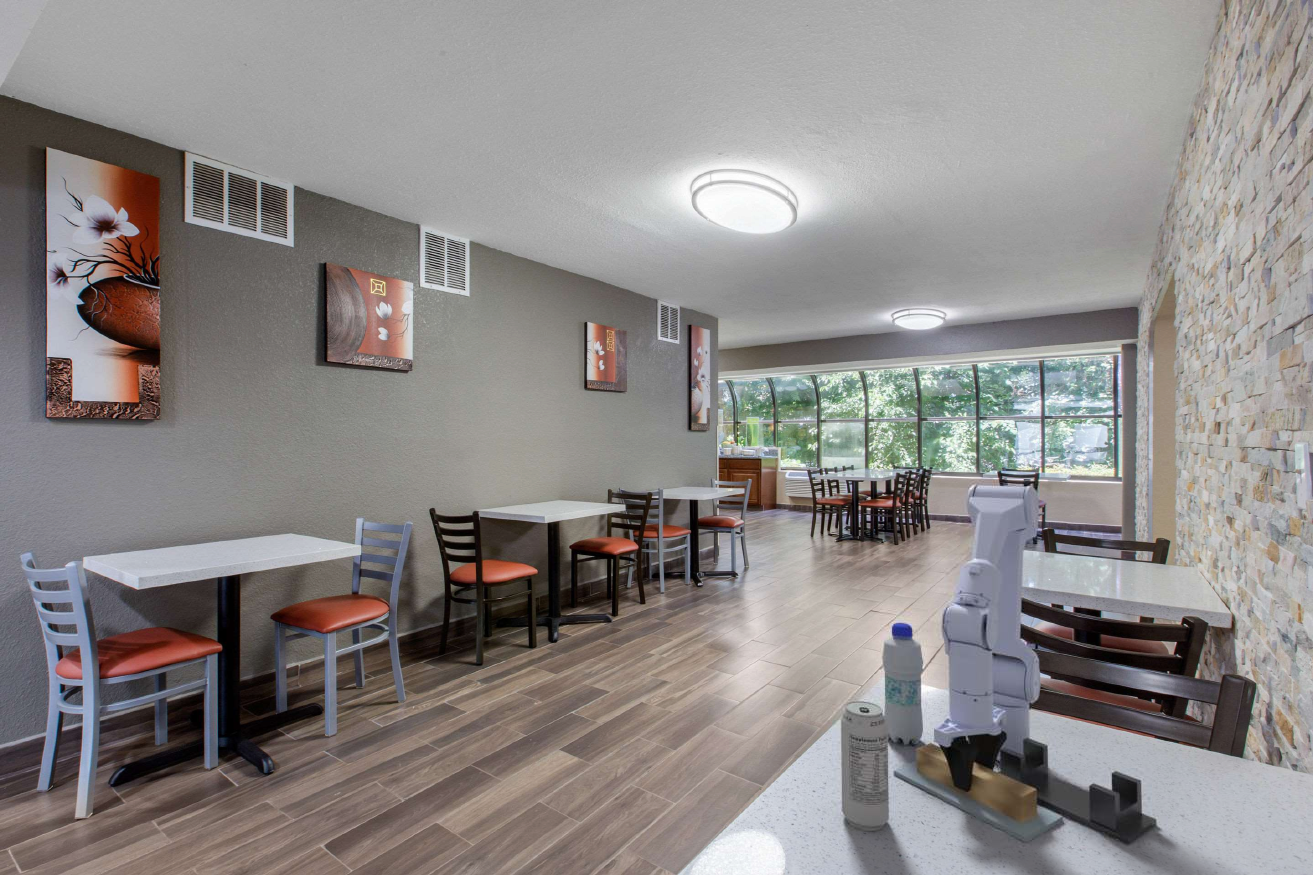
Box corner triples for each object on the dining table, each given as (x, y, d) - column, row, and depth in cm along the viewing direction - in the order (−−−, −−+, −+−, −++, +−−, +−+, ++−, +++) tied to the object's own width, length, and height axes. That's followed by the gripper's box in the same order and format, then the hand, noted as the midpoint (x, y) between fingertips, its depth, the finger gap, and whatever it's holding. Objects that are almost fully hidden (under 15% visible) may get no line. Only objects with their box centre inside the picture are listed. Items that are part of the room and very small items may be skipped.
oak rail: (916, 771, 96) (916, 748, 97) (931, 765, 98) (930, 742, 98) (1022, 823, 83) (1022, 796, 83) (1037, 815, 85) (1036, 789, 85)
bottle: (928, 749, 105) (926, 629, 105) (886, 746, 106) (884, 627, 107) (919, 732, 111) (918, 618, 112) (880, 729, 113) (878, 617, 113)
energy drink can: (884, 809, 87) (883, 700, 88) (892, 835, 81) (891, 718, 82) (839, 805, 88) (838, 697, 89) (844, 830, 82) (843, 715, 83)
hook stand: (989, 781, 95) (989, 745, 95) (1019, 767, 99) (1018, 733, 99) (1128, 844, 79) (1127, 802, 79) (1156, 825, 83) (1155, 784, 83)
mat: (893, 774, 97) (893, 770, 97) (930, 759, 101) (930, 755, 101) (1026, 842, 80) (1025, 837, 80) (1062, 820, 84) (1062, 816, 84)
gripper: (966, 708, 84) (968, 811, 83) (1026, 687, 91) (1028, 781, 91) (920, 691, 90) (921, 787, 90) (979, 673, 97) (981, 761, 97)
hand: (972, 783), depth 91 cm, fingers open, 4 cm apart
